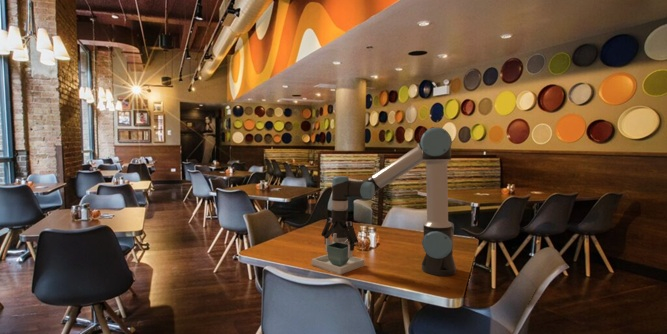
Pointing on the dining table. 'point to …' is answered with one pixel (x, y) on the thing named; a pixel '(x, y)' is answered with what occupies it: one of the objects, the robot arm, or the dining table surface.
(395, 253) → the dining table surface
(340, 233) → the egg in egg cup
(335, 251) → the flower pot
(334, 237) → the pipe connector
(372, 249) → the dining table surface
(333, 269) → the tray
